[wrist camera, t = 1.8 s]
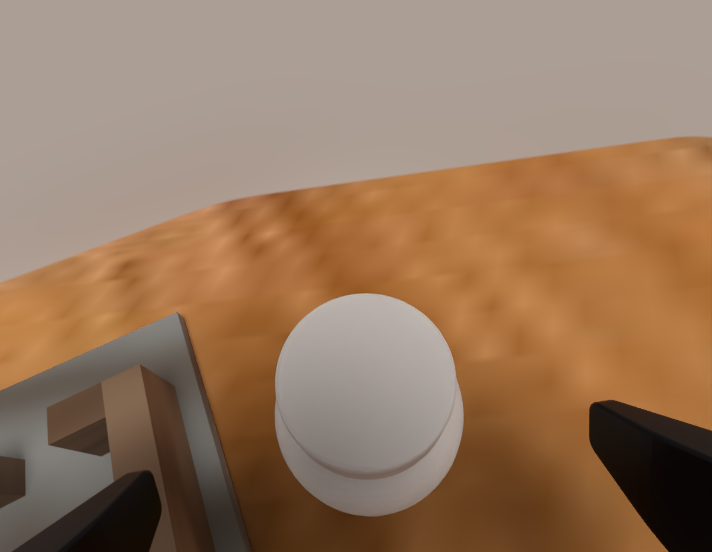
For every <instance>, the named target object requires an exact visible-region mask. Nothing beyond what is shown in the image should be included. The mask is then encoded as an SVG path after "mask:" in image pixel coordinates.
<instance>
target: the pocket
mask: <svg viewBox="0 0 712 552" xmlns="http://www.w3.org/2000/svg"><path fill="white" fill-rule="evenodd" d="M141 470H149V471H151V472H152V473H153V476H154V479H155V482H156V486H157V489H158V493H159V496H160V500H161V504H162V513H161V518H160V521H159V524H158V527H157V530H156V533H155V536H154V539H153V542H152V545H151V548H150V551H149V552H252V549H251V545H250V542H249V539H248V535H247V532H246V528H245V525H244V522H243V518H242V515H241V511H240V508H239V505H238V501H237V498H236V494H235V491H234V488H233V484H232V481H231V477H230V474H229V471H228V467H227V464H226V460H225V457H224V454H223V450H222V447H221V443H220V440H219V437H218V433H217V430H216V427H215V423H214V420H213V416H212V413H211V410H210V406H209V403H208V399H207V396H206V393H205V389H204V386H203V382H202V379H201V376H200V372H199V369H198V365H197V362H196V359H195V355H194V352H193V348H192V345H191V342H190V338H189V335H188V331H187V328H186V325H185V321H184V319H183V317H182V316H181V315H180V314H179V313H178V312H176V313H174V314H172V315H169V316H167V317H165V318H163V319H160V320H158V321H156V322H154V323H151V324H149V325H147V326H145V327H142V328H140V329H138V330H136V331H133V332H131V333H129V334H127V335H124V336H122V337H120V338H118V339H116V340H113V341H111V342H109V343H107V344H104V345H102V346H100V347H98V348H95V349H93V350H91V351H89V352H86V353H84V354H82V355H80V356H77V357H75V358H73V359H71V360H68V361H66V362H64V363H62V364H59V365H57V366H55V367H53V368H50V369H48V370H46V371H44V372H42V373H39V374H37V375H35V376H33V377H30V378H28V379H26V380H24V381H21V382H19V383H17V384H15V385H12V386H10V387H8V388H6V389H3V390H1V391H0V552H12V551H13V550H15V549H16V548H18V547H19V546H21V545H22V544H23V543H25V542H26V541H28V540H29V539H31V538H32V537H34V536H35V535H37V534H38V533H40V532H41V531H43V530H44V529H45V528H47V527H48V526H50V525H51V524H53V523H54V522H56V521H57V520H59V519H60V518H62V517H63V516H65V515H66V514H67V513H69V512H70V511H72V510H73V509H75V508H76V507H78V506H79V505H81V504H82V503H84V502H85V501H87V500H88V499H89V498H91V497H92V496H94V495H95V494H97V493H98V492H100V491H101V490H103V489H104V488H106V487H107V486H109V485H110V484H111V483H113V482H114V481H116V480H117V479H119V478H120V477H122V476H123V475H125V474H126V473H129V472H134V471H141Z"/></svg>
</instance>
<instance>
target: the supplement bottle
mask: <svg viewBox="0 0 712 552" xmlns="http://www.w3.org/2000/svg"><path fill="white" fill-rule="evenodd" d="M275 394H276V403H275V429H276V435H277V439H278V443H279V447H280V450H281V453H282V455H283V457H284V459H285V461H286V463H287V465H288V467H289V469H290V470H291V472H292V473H293V475H294V476H295V478H296V479H297V480H298V481H299V483H300V484H301V485H302V486H303V487H304V488H305V489H306V490H307V491H308V492H309V493H311V494H312V495H313V496H314V497H316V498H317V499H318V500H319V501H321V502H323V503H324V504H326V505H328V506H330V507H332V508H334V509H337V510H339V511H342V512H345V513H348V514H352V515H358V516H368V517H377V516H383V515H388V514H392V513H397V512H400V511H402V510H405V509H407V508H409V507H411V506H413V505H415V504H417V503H418V502H420V501H421V500H423V499H424V498H425V497H426V496H427V495H429V494H430V493H431V492H432V491H433V490H434V489H435V488H436V487H437V486H438V485H439V484H440V482H441V481H442V480H443V479H444V477H445V476H446V474H447V473H448V471H449V470H450V468H451V466H452V464H453V462H454V460H455V457H456V455H457V451H458V448H459V445H460V441H461V437H462V432H463V422H464V410H463V402H462V395H461V391H460V388H459V384H458V382H457V379H456V371H455V365H454V361H453V358H452V354H451V352H450V349H449V347H448V344H447V343H446V341H445V339H444V337H443V336H442V334H441V332H440V331H439V330H438V328H437V327H436V326H435V325H434V324H433V323H432V321H431V320H429V319H428V318H427V317H426V316H425V315H424V314H423V313H421V312H420V311H419V310H417V309H416V308H414V307H413V306H411V305H409V304H407V303H405V302H403V301H401V300H398V299H396V298H393V297H389V296H385V295H380V294H353V295H347V296H343V297H339V298H336V299H333V300H330V301H328V302H326V303H324V304H322V305H320V306H319V307H317V308H316V309H314V310H313V311H312V312H310V313H309V314H308V315H306V316H305V317H304V318H303V319H302V320H301V321H300V322H299V323H298V324H297V325H296V327H295V328H294V329H293V330H292V332H291V333H290V335H289V337H288V338H287V340H286V341H285V344H284V346H283V348H282V350H281V353H280V356H279V359H278V363H277V368H276V374H275Z"/></svg>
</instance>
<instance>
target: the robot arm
mask: <svg viewBox="0 0 712 552" xmlns="http://www.w3.org/2000/svg"><path fill="white" fill-rule="evenodd" d="M589 439H590V443H591V446H592V448H593V450H594V452H595V453H596V454H597V456H598V457H599V459H600V460H601V462H602V463H603V464H604V466H605V467H606V469H607V470H608V471H609V473H610V474H611V476H612V477H613V478H614V480H615V481H616V483H617V484H618V486H619V487H620V488H621V490H622V491H623V493H624V494H625V495H626V497H627V498H628V500H629V501H630V502H631V504H632V505H633V507H634V508H635V510H636V511H637V512H638V514H639V515H640V516H641V518H642V519H643V520H644V522H645V523H646V524H647V526H648V527H649V528H650V530H651V531H652V532H653V533H654V535H655V536H656V537H657V538H658V540H659V541H660V542H661V543H662V544H663V546H664V547H665V548H666V549H667V550H668V552H712V431H711V430H707V429H704V428H701V427H698V426H695V425H692V424H688V423H685V422H682V421H679V420H676V419H672V418H669V417H666V416H663V415H660V414H656V413H653V412H650V411H647V410H644V409H641V408H637V407H634V406H631V405H628V404H625V403H621V402H618V401H615V400H606V401H600V402H594V403H593V404H591V406H590V410H589ZM161 513H162V504H161V500H160V496H159V493H158V489H157V486H156V482H155V479H154V476H153V473H152V472H151V471H149V470H141V471H134V472H129V473H126V474H125V475H123V476H122V477H120V478H119V479H117V480H116V481H114V482H113V483H111V484H110V485H109V486H107V487H106V488H104V489H103V490H101V491H100V492H98V493H97V494H95V495H94V496H92V497H91V498H89V499H88V500H87V501H85V502H84V503H82V504H81V505H79V506H78V507H76V508H75V509H73V510H72V511H70V512H69V513H67V514H66V515H65V516H63V517H62V518H60V519H59V520H57V521H56V522H54V523H53V524H51V525H50V526H48V527H47V528H45V529H44V530H43V531H41V532H40V533H38V534H37V535H35V536H34V537H32V538H31V539H29V540H28V541H26V542H25V543H23V544H22V545H21V546H19V547H18V548H16V549H15V550H13V551H12V552H149V551H150V548H151V545H152V542H153V539H154V536H155V533H156V530H157V527H158V524H159V521H160V518H161Z"/></svg>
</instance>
